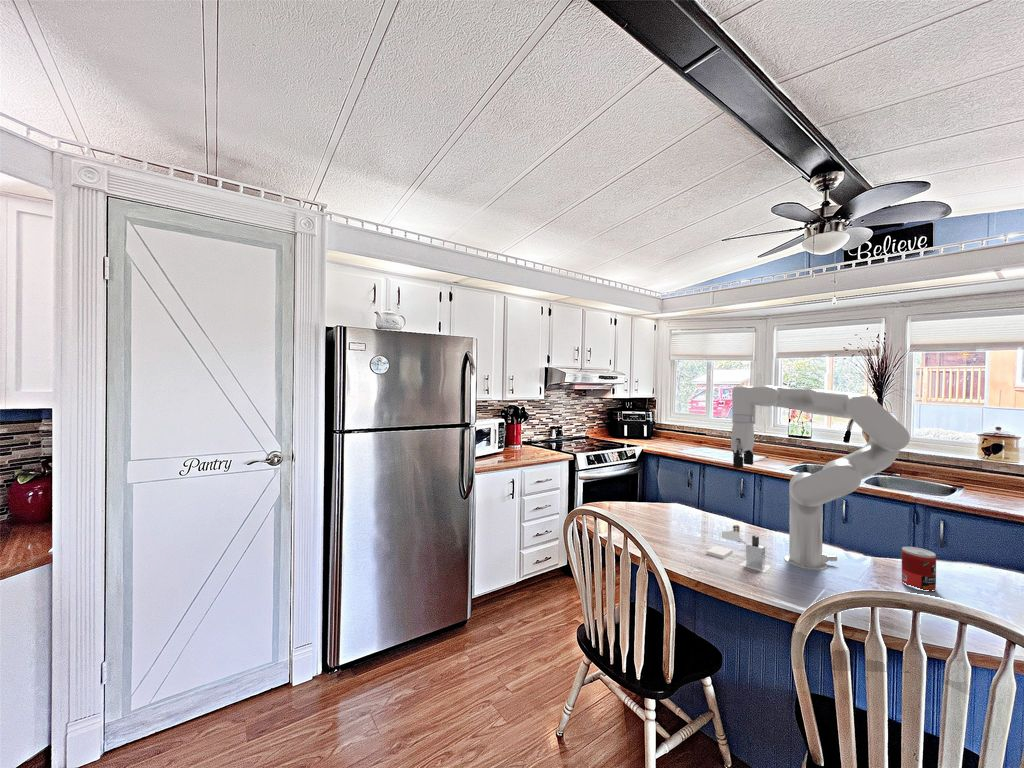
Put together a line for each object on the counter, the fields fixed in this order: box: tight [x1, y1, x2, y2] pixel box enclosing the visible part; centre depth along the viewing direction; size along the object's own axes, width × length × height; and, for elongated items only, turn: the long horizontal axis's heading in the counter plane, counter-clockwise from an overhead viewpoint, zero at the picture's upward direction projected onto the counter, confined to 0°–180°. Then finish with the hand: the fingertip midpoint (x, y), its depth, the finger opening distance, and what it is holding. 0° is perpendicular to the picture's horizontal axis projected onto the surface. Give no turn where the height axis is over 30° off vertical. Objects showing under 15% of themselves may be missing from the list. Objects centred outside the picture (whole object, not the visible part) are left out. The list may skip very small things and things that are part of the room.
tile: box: [706, 545, 734, 560], centre depth 161 cm, size 1×6×8 cm
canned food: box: [901, 546, 937, 591], centre depth 137 cm, size 8×8×11 cm
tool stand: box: [738, 559, 772, 573], centre depth 150 cm, size 7×8×1 cm
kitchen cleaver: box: [722, 524, 746, 545], centre depth 184 cm, size 24×1×10 cm
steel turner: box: [745, 535, 766, 569], centre depth 150 cm, size 2×5×10 cm, turn 42°
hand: (743, 465), depth 163 cm, fingers open, 9 cm apart
